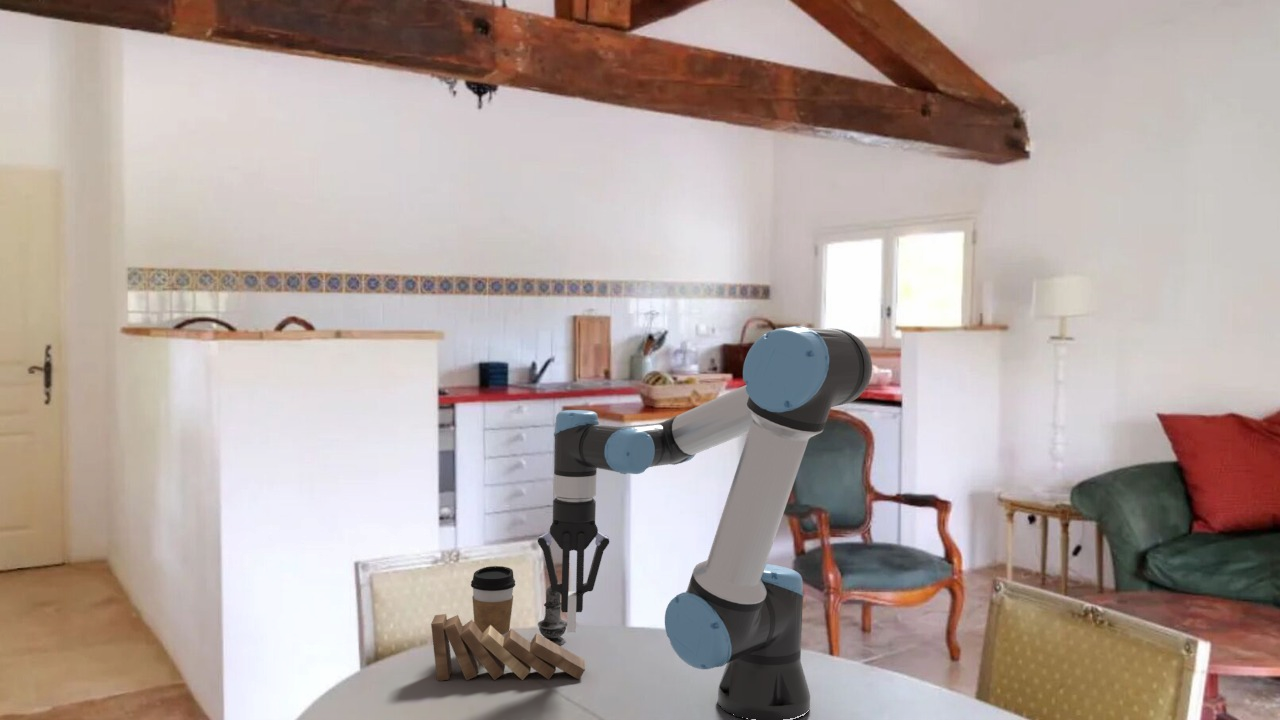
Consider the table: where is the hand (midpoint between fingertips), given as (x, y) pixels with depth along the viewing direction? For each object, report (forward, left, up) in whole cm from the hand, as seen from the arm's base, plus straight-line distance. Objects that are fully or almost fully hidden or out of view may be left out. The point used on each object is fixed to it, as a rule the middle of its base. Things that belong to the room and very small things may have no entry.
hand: (571, 629), depth 167 cm
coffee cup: (+20, -2, -8) cm, 21 cm away
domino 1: (+18, +13, -8) cm, 23 cm away
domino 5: (-2, -1, -7) cm, 7 cm away
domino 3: (+10, +7, -7) cm, 14 cm away
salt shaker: (+13, -12, -8) cm, 20 cm away
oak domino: (+6, +5, -7) cm, 11 cm away
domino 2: (+14, +10, -8) cm, 19 cm away
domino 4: (+3, +2, -7) cm, 8 cm away
